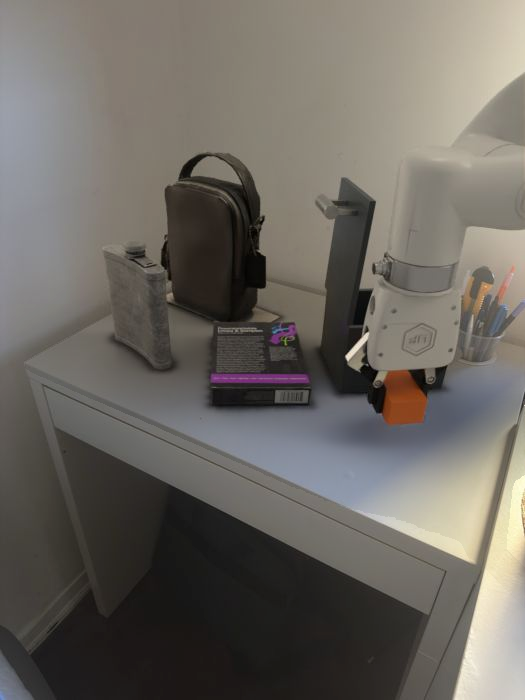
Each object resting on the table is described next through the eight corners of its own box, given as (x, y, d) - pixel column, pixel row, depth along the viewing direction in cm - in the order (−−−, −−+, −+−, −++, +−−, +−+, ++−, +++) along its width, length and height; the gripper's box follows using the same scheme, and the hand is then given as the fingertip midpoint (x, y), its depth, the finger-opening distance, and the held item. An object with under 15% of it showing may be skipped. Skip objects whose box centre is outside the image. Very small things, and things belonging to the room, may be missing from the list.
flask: (131, 330, 87) (118, 228, 77) (179, 363, 78) (172, 253, 69) (112, 336, 84) (97, 233, 75) (159, 371, 76) (149, 259, 66)
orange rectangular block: (369, 391, 66) (372, 369, 64) (401, 389, 67) (405, 367, 65) (387, 425, 60) (391, 402, 58) (422, 422, 61) (428, 399, 59)
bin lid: (346, 177, 69) (311, 175, 68) (376, 201, 58) (335, 199, 57) (329, 286, 77) (297, 286, 76) (352, 325, 66) (316, 324, 66)
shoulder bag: (279, 316, 93) (287, 157, 78) (249, 335, 86) (252, 166, 72) (191, 285, 104) (183, 141, 89) (158, 299, 98) (145, 146, 83)
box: (309, 408, 70) (294, 336, 86) (312, 387, 68) (296, 319, 84) (209, 407, 69) (213, 335, 85) (209, 387, 67) (213, 317, 83)
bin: (409, 345, 85) (422, 286, 79) (442, 387, 74) (458, 323, 69) (320, 349, 83) (326, 289, 77) (340, 393, 72) (349, 328, 67)
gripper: (353, 288, 50) (338, 429, 59) (511, 280, 52) (472, 418, 61) (334, 261, 56) (323, 392, 66) (476, 255, 58) (445, 383, 67)
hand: (395, 404), depth 63 cm, fingers closed on orange rectangular block, 4 cm apart
